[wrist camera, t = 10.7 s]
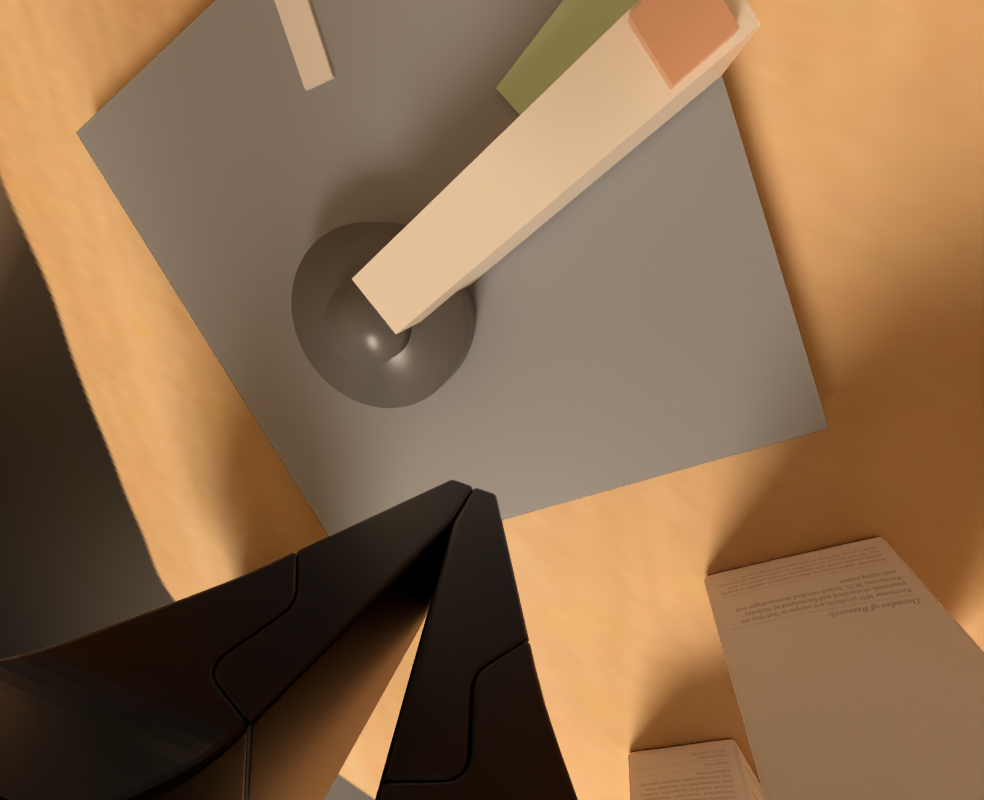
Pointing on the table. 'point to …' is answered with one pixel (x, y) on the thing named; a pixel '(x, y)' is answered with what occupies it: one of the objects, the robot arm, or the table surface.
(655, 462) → the grey mat
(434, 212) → the beige bar with disc
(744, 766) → the product box
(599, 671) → the table surface
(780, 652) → the supplement box
